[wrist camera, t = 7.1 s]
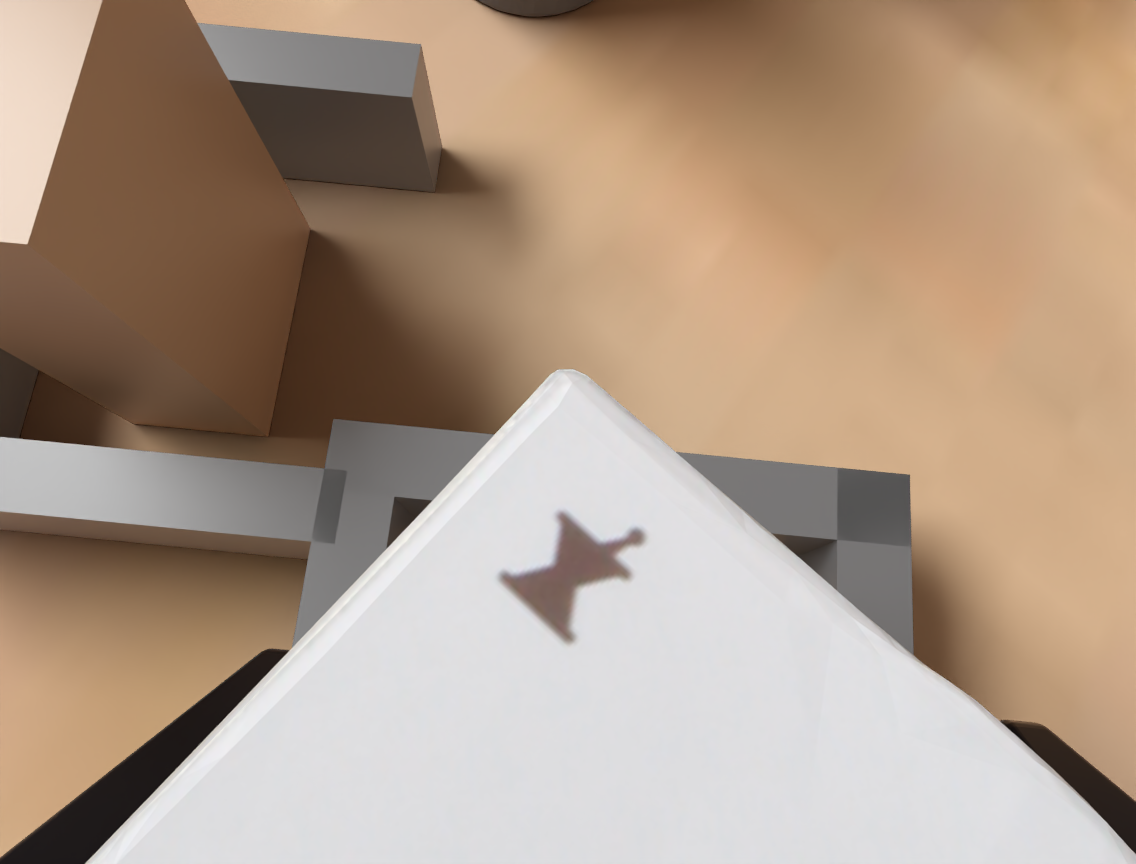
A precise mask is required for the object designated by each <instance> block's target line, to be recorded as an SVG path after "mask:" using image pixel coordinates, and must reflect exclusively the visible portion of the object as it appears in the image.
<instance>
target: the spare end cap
mask: <svg viewBox="0 0 1136 864" xmlns="http://www.w3.org/2000/svg"><path fill="white" fill-rule="evenodd" d="M441 150H442V144H441V139H440V134H439V129H438V124H437V120H436V115H435V110H434V105H433V100H432V95H431V91H430V86H429V81H428V76H427V71H426V66H425V62H424V57H423V52H422V47H421V44H412V43H401V42H391V41H380V40H370V39H359V38H349V37H338V36H328V35H317V34H307V33H297V32H286V31H276V30H265V29H255V28H244V27H234V26H223V25H213V24H202V23H197V22H196V20H195V18H194V16H193V15H192V13H191V11H190V9H189V7H188V6H187V4H186V2H185V0H0V530H9V531H20V532H30V533H40V534H50V535H61V536H71V537H81V538H91V539H102V540H112V541H122V542H132V543H143V544H153V545H163V546H173V547H184V548H194V549H204V550H214V551H224V552H235V553H245V554H255V555H265V556H276V557H286V558H296V559H306V560H308V557H309V551H310V546H311V540H313V539H312V538H313V537H312V536H314V535H312V534H313V531H314V530H315V529H314V528H315V526H316V525H315V520H316V519H318V521H317V522H316V523H319V521H320V523H321V520H322V519H321V520H320V518H324V515H326V514H327V513H328V514H329V515H331V516H330V517H331V518H332V515H334V514H333V513H335V512H336V511H337V513H336V516H338V515H337V514H338V513H339V514H340V512H339V511H340V508H339V507H341V506H340V505H341V504H342V502H340V501H339V500H342V499H341V498H343V494H342V493H344V490H343V489H344V487H345V484H344V483H345V481H346V476H345V475H347V474H346V473H347V471H346V470H335V469H328V470H327V469H324V468H315V467H305V466H294V465H284V464H274V463H264V462H253V461H243V460H233V459H222V458H212V457H202V456H192V455H181V454H171V453H161V452H150V451H140V450H130V449H120V448H109V447H99V446H89V445H79V444H68V443H58V442H48V441H37V440H27V439H19V437H20V433H21V430H22V426H23V423H24V419H25V416H26V413H27V409H28V406H29V402H30V399H31V395H32V392H33V388H34V385H35V381H36V378H37V375H38V371H39V370H40V371H41V372H43V373H45V374H47V375H48V376H50V377H52V378H54V379H55V380H57V381H59V382H61V383H62V384H64V385H66V386H68V387H69V388H71V389H73V390H75V391H77V392H78V393H80V394H82V395H84V396H85V397H87V398H89V399H91V400H92V401H94V402H96V403H98V404H99V405H101V406H103V407H105V408H106V409H108V410H110V411H112V412H113V413H115V414H117V415H119V416H120V417H122V418H124V419H126V420H127V421H129V422H131V423H133V424H143V425H153V426H163V427H174V428H184V429H194V430H204V431H215V432H225V433H235V434H246V435H256V436H266V437H268V436H269V431H270V426H271V421H272V416H273V411H274V406H275V401H276V396H277V391H278V386H279V381H280V376H281V372H282V367H283V362H284V357H285V352H286V347H287V342H288V337H289V332H290V327H291V322H292V317H293V312H294V307H295V302H296V297H297V293H298V288H299V283H300V278H301V273H302V268H303V263H304V258H305V253H306V248H307V243H308V238H309V233H310V227H309V225H308V223H307V222H306V220H305V218H304V216H303V214H302V212H301V211H300V209H299V207H298V205H297V203H296V202H295V200H294V198H293V196H292V194H291V192H290V191H289V189H288V187H287V185H286V183H285V182H284V180H283V178H291V179H302V180H312V181H323V182H333V183H343V184H354V185H364V186H375V187H385V188H395V189H406V190H416V191H426V192H435V188H436V182H437V175H438V169H439V163H440V156H441ZM325 470H326V472H325ZM332 470H333V471H332ZM341 471H342V472H341ZM344 471H345V472H344ZM327 472H328V473H327ZM337 472H338V473H337ZM331 473H332V474H331ZM336 473H337V474H336ZM323 474H324V475H323ZM331 475H332V476H331ZM343 475H344V476H343ZM328 476H329V477H328ZM334 476H335V477H334ZM326 477H327V478H326ZM340 477H341V478H342V479H341V478H340ZM324 478H325V479H326V480H325V479H324ZM328 478H329V479H328ZM331 478H332V479H333V480H332V479H331ZM336 478H337V479H336ZM340 479H341V480H340ZM322 480H323V482H322ZM324 480H325V482H324ZM343 480H344V481H343ZM327 481H329V483H330V484H329V483H327ZM339 481H340V482H339ZM332 482H333V484H332ZM336 482H337V483H336ZM326 483H327V484H328V486H327V484H326ZM325 484H326V485H325ZM340 484H341V485H340ZM343 484H344V485H343ZM324 485H325V486H324ZM331 485H332V486H331ZM334 485H335V486H334ZM339 485H340V486H339ZM330 486H331V487H330ZM337 486H338V487H337ZM342 486H343V487H342ZM321 487H322V488H321ZM329 487H330V488H329ZM336 487H337V488H336ZM324 488H325V490H324ZM328 488H329V489H328ZM342 488H343V489H342ZM321 489H323V490H321ZM338 489H339V490H340V489H342V490H343V491H341V490H340V491H339V490H338ZM327 490H330V492H328V491H327ZM331 490H332V491H331ZM320 491H321V492H322V494H320V493H321V492H320ZM323 491H324V492H323ZM325 491H327V492H328V493H326V492H325ZM335 491H336V492H337V491H338V492H337V493H338V494H342V495H339V496H337V495H338V494H337V493H336V492H335ZM334 492H335V493H334ZM323 493H325V494H328V495H326V496H325V494H324V496H325V497H324V496H323V498H324V499H325V500H326V499H327V498H328V499H327V501H326V502H328V503H325V504H327V505H328V504H329V503H330V502H331V504H332V505H331V504H330V505H331V506H329V505H328V506H329V507H327V505H325V507H327V508H325V507H324V508H323V507H321V508H323V509H329V510H331V511H328V510H325V511H326V513H325V511H323V509H321V512H320V510H319V508H320V507H319V506H322V503H324V502H325V500H324V499H323V500H324V502H321V501H319V499H320V498H321V497H322V495H323ZM332 493H333V494H334V495H335V496H334V495H333V494H332ZM331 494H332V495H333V496H332V495H331ZM336 494H337V495H336ZM319 496H321V497H320V498H319ZM334 497H335V498H338V499H337V500H338V501H339V502H340V503H339V502H338V501H337V500H336V499H335V498H334ZM339 497H340V498H339ZM329 499H330V500H329ZM331 499H332V500H333V499H334V500H335V501H333V502H332V500H331ZM320 500H321V499H320ZM323 500H322V501H323ZM336 501H337V502H338V503H339V504H340V505H339V504H337V502H336ZM320 502H321V503H320ZM318 503H319V506H318ZM333 503H334V504H333ZM336 504H337V505H338V506H339V507H338V508H339V509H338V510H336V509H335V508H334V507H336V506H337V505H336ZM335 505H336V506H335ZM323 506H324V505H323ZM330 507H332V508H331V509H330ZM317 508H318V510H319V513H318V516H319V514H321V515H320V516H321V517H320V518H316V517H317V514H316V512H318V511H317ZM333 508H334V509H333ZM336 508H337V507H336ZM332 509H333V510H334V511H335V512H334V511H333V510H332ZM322 511H323V512H322ZM329 512H331V513H332V512H333V513H332V514H331V513H329ZM322 513H324V515H323V514H322ZM328 514H327V515H328ZM322 515H323V517H322ZM327 515H326V516H327ZM326 516H325V517H326ZM334 516H335V515H334ZM334 516H333V517H334ZM336 516H335V517H334V518H332V519H333V520H332V519H331V518H330V517H328V516H327V517H326V518H330V519H331V520H329V521H330V522H331V523H332V522H334V523H335V521H336V520H337V519H338V518H339V516H340V515H339V516H338V518H337V517H336ZM315 518H316V519H315ZM335 519H336V520H335ZM323 520H324V519H323ZM323 520H322V521H323ZM324 521H325V522H324ZM324 521H323V523H322V524H320V525H319V526H320V527H318V525H317V526H316V528H317V527H318V528H322V527H321V526H322V525H323V526H324V524H327V526H326V527H324V529H323V528H322V532H323V530H325V529H326V528H328V529H329V530H328V529H326V530H325V531H328V532H330V531H331V532H332V531H333V532H332V533H333V534H334V535H335V533H336V532H337V531H336V530H337V527H338V525H337V524H338V522H339V519H338V520H337V521H338V522H337V521H336V523H335V524H336V525H335V524H334V523H333V524H334V525H332V524H331V523H330V522H327V523H326V521H327V519H325V520H324ZM328 524H329V525H330V524H331V525H332V526H335V529H336V530H335V529H334V528H333V527H330V528H331V530H330V528H329V526H328ZM331 525H330V526H331ZM336 526H337V527H336ZM332 528H333V529H332ZM318 530H319V529H318ZM318 530H317V531H318ZM335 531H336V532H335ZM319 532H321V531H320V530H319ZM322 532H321V534H322ZM331 532H330V533H331ZM315 533H316V532H315ZM323 533H324V532H323ZM332 533H331V534H332ZM324 534H325V533H324ZM327 534H328V533H326V536H325V538H328V540H327V539H326V541H329V537H330V536H329V535H331V534H328V535H327ZM318 535H319V534H318V533H317V535H315V536H316V537H317V536H318ZM334 535H332V536H334ZM319 536H320V535H319ZM322 536H323V535H322ZM322 536H321V537H322ZM327 536H329V537H327ZM332 536H331V537H332ZM335 536H336V535H335ZM331 537H330V538H331ZM314 538H315V537H314ZM318 538H319V537H317V538H316V539H315V540H317V539H318ZM325 538H324V539H325ZM332 538H333V539H334V540H335V538H334V537H332ZM332 538H331V539H332ZM320 539H321V538H320ZM331 539H330V540H331ZM318 541H320V540H318ZM322 541H324V540H323V537H322ZM322 541H321V543H323V542H322ZM331 541H333V540H331ZM312 542H313V541H312ZM324 542H325V541H324ZM329 542H330V541H329ZM329 542H328V543H329ZM330 543H331V542H330ZM331 544H332V543H331Z"/></svg>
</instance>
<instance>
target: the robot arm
mask: <svg viewBox="0 0 1136 864" xmlns="http://www.w3.org/2000/svg"><path fill="white" fill-rule="evenodd" d="M289 651H290V650H280V649H267V650H265V651H263V652H261V653H259V654H258V655H257V656H255V657H254V658H253V659H252V660H250V661H249V662H248V663H247V664H245V665H244V666H243V667H241V668H240V669H239V670H238V671H236V672H235V673H234V674H233V675H231V676H230V677H229V678H228V679H226V680H225V681H224V682H222V683H221V684H220V685H219V686H217V687H216V688H215V689H214V690H212V691H211V692H210V693H208V694H207V695H206V696H205V697H203V698H202V699H201V700H200V701H198V702H197V703H196V704H195V705H193V706H192V707H191V708H189V709H188V710H187V711H186V712H184V713H183V714H182V715H181V716H179V717H178V718H177V719H175V720H174V721H173V722H172V723H170V724H169V725H168V726H167V727H165V728H164V729H163V730H162V731H160V732H159V733H158V734H156V735H155V736H154V737H153V738H151V739H150V740H149V741H148V742H146V743H145V744H144V745H142V746H141V747H140V748H139V749H137V750H136V751H135V752H134V753H132V754H131V755H130V756H129V757H127V758H126V759H125V760H123V761H122V762H121V763H120V764H118V765H117V766H116V767H115V768H113V769H112V770H111V771H109V772H108V773H107V774H106V775H104V776H103V777H102V778H101V779H99V780H98V781H97V782H96V783H94V784H93V785H92V786H90V787H89V788H88V789H87V790H85V791H84V792H83V793H82V794H80V795H79V796H78V797H76V798H75V799H74V800H73V801H71V802H70V803H69V804H68V805H66V806H65V807H64V808H63V809H61V810H60V811H59V812H57V813H56V814H55V815H54V816H52V817H51V818H50V819H49V820H47V821H46V822H45V823H43V824H42V825H41V826H40V827H38V828H37V829H36V830H35V831H33V832H32V833H31V834H30V835H28V836H27V837H26V838H24V839H23V840H22V841H21V842H19V843H18V844H17V845H16V846H14V847H13V848H12V849H10V850H9V851H8V852H7V853H5V854H4V855H3V856H2V857H0V864H85V863H86V862H87V861H88V860H89V859H90V858H91V857H92V856H93V855H94V854H95V853H96V852H97V851H98V850H99V849H100V848H101V847H102V846H103V845H104V843H105V842H106V841H107V840H108V839H109V838H110V837H111V836H112V835H113V834H114V833H115V832H116V831H117V830H118V829H119V828H120V827H121V826H122V825H123V824H124V823H125V822H126V821H127V820H128V819H129V818H130V817H131V816H132V814H133V813H134V812H135V811H136V810H137V809H138V808H139V807H140V806H141V805H142V804H143V803H144V802H145V801H146V800H147V799H148V798H149V797H150V796H151V795H152V794H153V793H154V792H155V791H156V790H157V789H158V788H159V786H160V785H161V784H162V783H163V782H164V781H165V780H166V779H167V778H168V777H169V776H170V775H171V774H172V773H173V772H174V771H175V770H176V769H177V768H178V767H179V766H180V765H181V763H182V762H183V761H184V760H185V759H186V758H187V757H188V756H189V755H190V754H191V753H192V752H193V751H194V750H195V749H196V748H197V747H198V746H199V745H200V744H201V743H202V742H203V741H204V739H205V738H206V737H207V736H208V735H209V734H210V733H211V732H212V731H213V730H214V729H215V728H216V727H217V726H218V725H219V724H220V723H221V722H222V721H223V720H224V719H225V718H226V717H227V715H228V714H229V713H230V712H231V711H232V710H233V709H234V708H235V707H236V706H237V705H238V704H239V703H240V702H241V701H242V700H243V699H244V698H245V697H246V696H247V695H248V694H249V693H250V691H251V690H252V689H253V688H254V687H255V686H256V685H257V684H258V683H259V682H260V681H261V680H262V679H263V678H264V677H265V676H266V675H267V674H268V673H269V672H270V671H271V670H272V669H273V667H274V666H275V665H276V664H277V663H278V662H279V661H280V660H281V659H282V658H283V657H284V656H285V655H286V654H287V653H288V652H289ZM1000 722H1001V723H1002V724H1003V725H1005V726H1006V727H1007V728H1008V729H1009V730H1010V731H1011V732H1013V733H1014V734H1015V735H1016V736H1017V737H1018V738H1019V739H1020V740H1022V741H1023V742H1024V743H1025V744H1026V745H1027V746H1028V747H1029V748H1030V749H1031V750H1033V751H1034V752H1035V753H1036V754H1037V755H1038V756H1039V757H1040V758H1041V759H1043V760H1044V761H1045V762H1046V763H1047V764H1048V765H1049V766H1050V767H1051V768H1052V769H1054V770H1055V771H1056V772H1057V773H1058V774H1059V775H1060V776H1061V777H1062V778H1063V779H1064V780H1065V781H1066V782H1067V783H1068V784H1069V785H1070V786H1071V787H1072V788H1073V789H1074V790H1075V791H1076V792H1077V793H1078V794H1079V795H1080V796H1082V797H1083V798H1084V799H1085V800H1086V801H1087V803H1088V804H1089V805H1090V806H1091V807H1092V808H1093V809H1094V810H1095V811H1096V812H1097V813H1098V814H1099V815H1100V816H1101V817H1102V818H1103V819H1104V820H1105V821H1106V822H1107V823H1108V825H1109V826H1110V827H1111V828H1112V829H1113V830H1114V831H1115V832H1116V833H1117V835H1118V836H1119V837H1120V838H1121V839H1122V840H1123V841H1124V842H1125V843H1126V845H1127V846H1128V847H1129V848H1130V849H1131V850H1132V851H1133V852H1134V853H1135V854H1136V801H1135V800H1133V799H1132V798H1131V797H1130V796H1129V795H1127V794H1126V793H1125V792H1124V791H1123V790H1121V789H1120V788H1119V787H1118V786H1117V785H1115V784H1114V783H1113V782H1112V781H1111V780H1109V779H1108V778H1107V777H1106V776H1105V775H1103V774H1102V773H1101V772H1100V771H1099V770H1097V769H1096V768H1095V767H1094V766H1093V765H1091V764H1090V763H1089V762H1088V761H1087V760H1085V759H1084V758H1083V757H1082V756H1081V755H1079V754H1078V753H1077V752H1076V751H1074V750H1073V749H1072V748H1071V747H1070V746H1068V745H1067V744H1066V743H1065V742H1064V741H1062V740H1061V739H1060V738H1059V737H1058V736H1056V735H1055V734H1054V733H1053V732H1052V731H1050V730H1049V729H1048V728H1046V727H1045V726H1043V725H1041V724H1038V723H1033V722H1023V721H1013V720H1001V721H1000Z"/></svg>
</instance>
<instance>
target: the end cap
mask: <svg viewBox="0 0 1136 864" xmlns="http://www.w3.org/2000/svg"><path fill="white" fill-rule="evenodd" d="M494 435H495V434H484V433H474V432H464V431H454V430H443V429H433V428H423V427H412V426H402V425H392V424H381V423H371V422H361V421H351V420H340V419H333V424H332V429H331V435H330V440H329V446H328V452H327V457H326V463H325V468H324V469H327V470H328V469H335V470H346V471H347V473H346V474H347V475H345V476H346V481H345V483H344V484H345V487H344V489H343V488H342V489H343V490H344V493H342V494H343V498H341V499H342V500H339V501H340V502H342V504H341V505H340V504H339V503H340V502H339V501H338V500H337V499H338V498H335V497H334V498H335V499H336V500H337V501H338V502H339V503H338V502H337V501H336V502H337V504H339V505H340V506H341V507H339V506H338V505H337V504H336V505H337V506H336V505H335V506H336V507H337V508H336V507H334V508H335V509H336V510H338V509H339V508H340V511H339V512H340V514H339V513H338V514H337V515H338V516H339V515H340V516H339V518H338V516H336V513H337V511H336V512H335V511H334V510H333V509H334V508H333V509H332V510H333V511H334V512H335V513H333V512H332V513H333V514H334V515H335V516H336V517H337V518H338V519H339V522H338V521H337V520H338V519H337V520H336V519H335V520H336V521H337V522H338V524H337V525H338V527H337V526H336V527H337V530H336V529H335V526H332V525H334V524H335V523H336V521H335V523H334V522H332V523H331V522H330V521H329V520H331V519H332V518H334V517H335V516H334V515H332V518H331V517H330V516H331V515H329V514H328V513H327V514H328V515H327V514H326V515H327V516H328V517H330V518H331V519H330V518H326V517H327V516H326V515H324V513H322V514H323V515H324V518H320V517H321V516H320V515H321V514H319V516H318V513H319V510H320V512H321V509H323V508H324V507H325V505H327V504H325V503H328V502H326V501H327V499H328V498H327V499H326V500H325V499H324V498H323V496H324V494H325V493H323V495H322V497H321V496H319V498H320V497H321V498H320V499H321V500H320V499H319V501H321V502H324V500H325V502H324V503H322V506H319V503H318V506H319V507H320V508H319V510H318V508H317V511H318V512H316V514H317V517H316V518H320V520H321V519H322V520H323V519H324V520H325V519H327V521H326V523H327V522H330V523H331V524H332V525H331V524H330V525H331V526H330V525H329V524H328V526H329V528H330V527H333V528H334V529H335V530H336V531H337V532H336V531H335V532H336V533H335V535H336V536H335V535H334V534H333V533H332V532H333V531H332V532H331V531H330V532H331V533H332V534H331V533H330V532H328V531H325V530H326V529H328V528H326V529H325V530H323V532H324V533H325V534H324V533H323V532H322V528H323V529H324V527H326V526H327V524H324V526H323V525H322V526H321V527H322V528H318V527H320V526H319V525H320V524H322V523H323V521H324V520H323V521H322V520H321V523H320V521H319V523H316V522H317V521H318V519H316V518H315V519H316V520H315V525H316V526H317V525H318V527H317V528H316V526H315V528H314V529H315V530H314V531H313V534H312V535H314V536H312V537H313V538H312V539H313V540H311V546H310V551H309V557H308V562H307V568H306V573H305V579H304V584H303V590H302V595H301V601H300V606H299V612H298V617H297V623H296V628H295V634H294V640H293V645H292V648H293V647H294V646H295V644H296V643H297V642H298V641H299V640H300V639H301V638H302V637H303V636H304V635H305V634H306V633H307V632H308V631H309V630H310V629H311V628H312V627H313V626H314V625H315V624H316V622H317V621H318V620H319V619H320V618H321V617H322V616H323V615H324V614H325V613H326V612H327V611H328V610H329V609H330V608H331V607H332V606H333V605H334V604H335V603H336V601H337V600H338V599H339V598H340V597H341V596H342V595H343V594H344V593H345V592H346V591H347V590H348V589H349V588H350V587H351V586H352V585H353V584H354V583H355V582H356V581H357V579H358V578H359V577H360V576H361V575H362V574H363V573H364V572H365V571H366V570H367V569H368V568H369V567H370V566H371V565H372V564H373V563H374V562H375V561H376V560H377V559H378V557H379V556H380V555H381V554H382V553H383V552H384V551H385V550H386V549H387V548H388V547H389V546H390V545H391V544H392V543H393V542H394V541H395V540H396V539H397V538H398V536H399V535H400V534H401V533H402V532H403V531H404V530H405V529H406V528H407V527H408V526H409V525H410V524H411V523H412V522H413V521H414V520H415V519H416V518H417V517H418V516H419V514H420V513H421V512H422V511H423V510H424V509H425V508H426V507H427V506H428V505H429V504H430V503H431V502H432V501H433V500H434V499H435V498H436V497H437V495H438V494H439V493H440V492H441V491H442V490H443V489H444V488H445V487H446V486H447V485H448V484H449V483H450V482H451V481H452V479H453V478H454V477H455V476H456V475H457V474H458V473H459V472H460V471H461V470H462V469H463V468H464V467H465V466H466V465H467V463H468V462H469V461H470V460H471V459H472V458H473V457H474V456H475V455H476V454H477V453H478V452H479V451H480V450H481V449H482V447H483V446H484V445H485V444H486V443H487V442H488V441H489V440H490V439H491V438H492V437H493V436H494ZM676 453H677V454H678V455H680V456H681V457H682V458H683V459H684V460H685V461H687V462H688V463H689V464H690V465H691V466H692V467H693V468H695V469H696V470H697V471H698V472H699V473H701V474H702V475H703V476H704V477H705V478H706V479H708V480H709V481H710V482H711V483H712V484H714V485H715V486H716V487H717V488H718V489H719V490H721V491H722V492H723V493H724V494H725V495H727V496H728V497H729V498H730V499H731V500H732V501H734V502H735V503H736V504H737V505H738V506H739V507H741V508H742V509H743V510H744V511H745V512H747V513H748V514H749V515H750V516H751V517H752V518H754V519H755V520H756V521H757V522H758V523H760V524H761V525H762V526H763V527H764V528H765V529H767V530H768V531H769V532H770V533H771V534H772V535H774V536H775V537H776V538H777V539H778V540H779V541H781V542H782V543H783V544H784V545H785V546H786V547H787V548H789V549H790V550H791V551H792V552H793V553H794V554H796V555H797V556H798V557H799V558H800V559H801V560H802V561H804V562H805V563H806V564H807V565H808V566H809V567H810V568H812V569H813V570H814V571H815V572H816V573H817V574H818V575H820V576H821V577H822V578H823V579H824V580H825V581H826V582H828V583H829V584H830V585H831V586H832V587H833V588H834V589H836V590H837V591H838V592H839V593H840V594H841V595H842V596H844V597H845V598H846V599H847V600H848V601H849V602H850V603H852V604H853V605H854V606H855V607H856V608H857V609H858V610H860V611H861V612H862V613H863V614H864V615H866V616H867V617H868V618H869V619H870V620H872V621H873V622H874V623H875V624H876V625H878V626H879V627H880V628H881V629H883V630H884V631H885V632H886V633H887V634H889V635H890V636H891V637H892V638H893V639H895V640H896V641H897V642H898V643H899V644H901V645H902V646H903V647H904V648H905V649H907V650H908V651H909V652H910V653H911V654H913V655H914V653H913V606H912V559H911V511H910V475H907V474H896V473H886V472H876V471H865V470H855V469H845V468H835V467H824V466H814V465H804V464H793V463H783V462H773V461H762V460H752V459H742V458H732V457H721V456H711V455H701V454H690V453H680V452H676ZM332 471H333V470H332ZM325 472H326V470H325ZM341 472H342V471H341ZM344 472H345V471H344ZM327 473H328V472H327ZM337 473H338V472H337ZM337 473H336V474H337ZM331 474H332V473H331ZM323 475H324V474H323ZM331 476H332V475H331ZM343 476H344V475H343ZM328 477H329V476H328ZM334 477H335V476H334ZM326 478H327V477H326ZM340 478H341V477H340ZM324 479H325V478H324ZM328 479H329V478H328ZM331 479H332V478H331ZM336 479H337V478H336ZM341 479H342V478H341ZM341 479H340V480H341ZM325 480H326V479H325ZM325 480H324V482H325ZM332 480H333V479H332ZM343 481H344V480H343ZM322 482H323V480H322ZM339 482H340V481H339ZM327 483H329V481H327ZM327 483H326V484H327ZM336 483H337V482H336ZM326 484H325V485H326ZM329 484H330V483H329ZM332 484H333V482H332ZM344 484H343V485H344ZM325 485H324V486H325ZM340 485H341V484H340ZM340 485H339V486H340ZM327 486H328V484H327ZM331 486H332V485H331ZM331 486H330V487H331ZM334 486H335V485H334ZM330 487H329V488H330ZM337 487H338V486H337ZM337 487H336V488H337ZM342 487H343V486H342ZM321 488H322V487H321ZM329 488H328V489H329ZM342 489H340V490H341V491H343V490H342ZM321 490H323V489H321ZM324 490H325V488H324ZM338 490H339V489H338ZM340 490H339V491H340ZM327 491H328V492H330V490H327ZM327 491H325V492H326V493H328V492H327ZM331 491H332V490H331ZM320 492H321V491H320ZM323 492H324V491H323ZM335 492H336V491H335ZM335 492H334V493H335ZM337 492H338V491H337ZM337 492H336V493H337ZM320 494H322V492H321V493H320ZM332 494H333V493H332ZM332 494H331V495H332ZM337 494H338V493H337ZM337 494H336V495H337ZM342 494H338V495H337V496H339V495H342ZM326 495H328V494H325V496H326ZM333 495H334V494H333ZM333 495H332V496H333ZM325 496H324V497H325ZM334 496H335V495H334ZM339 498H340V497H339ZM323 499H324V500H323ZM322 500H323V501H322ZM329 500H330V499H329ZM331 500H332V499H331ZM333 501H335V500H334V499H333V500H332V502H333ZM321 502H320V503H321ZM330 504H331V502H330V503H329V504H328V505H329V506H331V505H332V504H331V505H330ZM333 504H334V503H333ZM323 505H324V506H323ZM328 505H327V507H329V506H328ZM321 507H323V508H321ZM327 507H325V508H327ZM338 507H339V508H338ZM331 508H332V507H330V509H331ZM325 510H328V511H331V510H329V509H323V511H325ZM323 511H322V512H323ZM325 513H326V511H325ZM329 513H331V512H329ZM332 513H331V514H332ZM323 515H322V517H323ZM325 516H326V517H325ZM333 516H334V517H333ZM332 520H333V519H332ZM324 522H325V521H324ZM333 523H334V524H333ZM335 525H336V524H335ZM333 528H332V529H333ZM318 529H319V530H320V531H321V532H322V534H321V532H319V530H318ZM317 530H318V531H317ZM328 530H329V529H328ZM330 530H331V528H330ZM315 532H316V533H315ZM317 533H318V534H319V535H320V536H319V535H318V536H317V537H319V538H318V539H317V540H315V539H316V538H317V537H316V536H315V535H317ZM326 533H328V534H331V535H329V536H330V537H331V536H332V535H334V536H332V537H334V538H335V540H334V539H333V538H332V537H331V538H332V539H331V538H330V537H329V536H327V537H329V541H330V542H331V543H332V544H331V543H330V542H329V541H326V539H327V540H328V538H325V536H326ZM328 534H327V535H328ZM322 535H323V536H322ZM321 536H322V537H323V540H324V541H325V542H324V541H322V537H321ZM314 537H315V538H314ZM320 538H321V539H320ZM324 538H325V539H324ZM330 539H331V540H333V541H331V540H330ZM318 540H320V541H318ZM312 541H313V542H312ZM321 541H322V542H323V543H321ZM328 542H329V543H328Z"/></svg>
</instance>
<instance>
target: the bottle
mask: <svg viewBox="0 0 1136 864" xmlns="http://www.w3.org/2000/svg"><path fill="white" fill-rule="evenodd" d="M479 1H480V2H482V3H484V4H486V5H488V6H490V7H492V8H494V9H496V10H499V11H503V12H507V13H512V14H517V15H522V16H549V15H557V14H560V13H564V12H568V11H571V10H575V9H577V8H579V7H581V6H583V5H585V4H587V3H589V2H591V1H593V0H479Z"/></svg>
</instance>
